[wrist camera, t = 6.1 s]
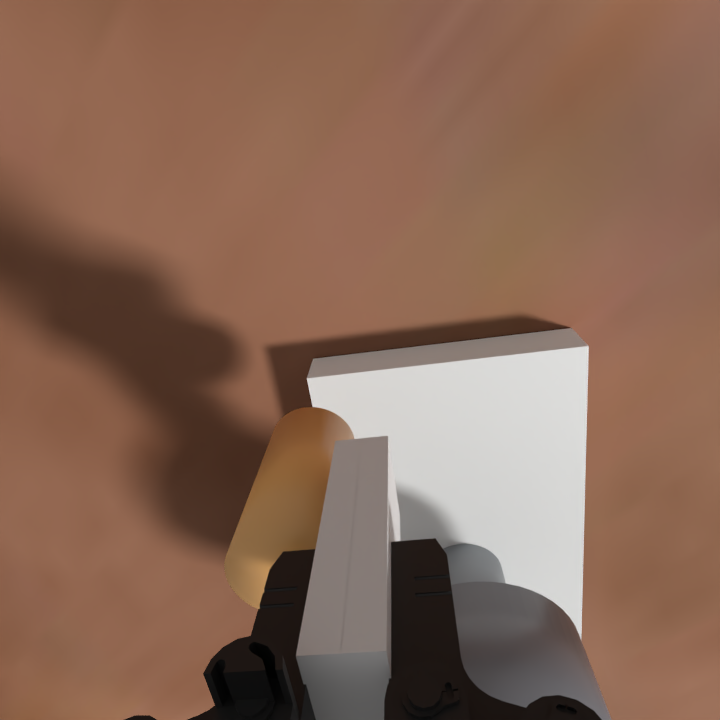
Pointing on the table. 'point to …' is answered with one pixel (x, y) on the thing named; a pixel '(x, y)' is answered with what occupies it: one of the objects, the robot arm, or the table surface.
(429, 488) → the post base
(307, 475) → the orange knob joystick
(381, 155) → the table surface
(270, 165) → the table surface
